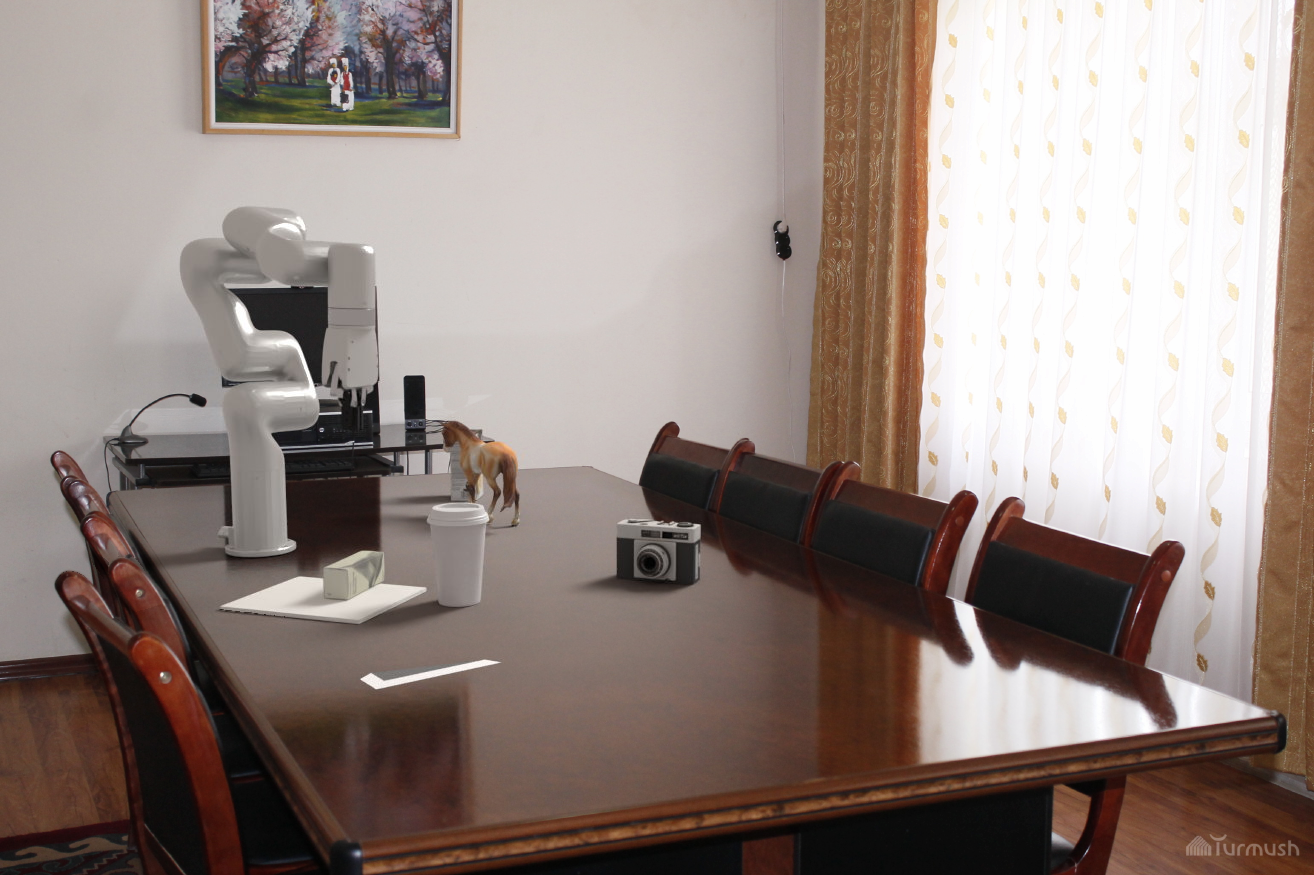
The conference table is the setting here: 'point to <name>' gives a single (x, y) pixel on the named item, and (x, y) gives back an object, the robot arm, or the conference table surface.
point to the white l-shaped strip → (419, 673)
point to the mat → (323, 601)
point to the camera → (658, 551)
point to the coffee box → (462, 475)
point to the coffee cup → (458, 551)
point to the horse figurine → (484, 465)
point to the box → (353, 575)
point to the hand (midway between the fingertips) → (352, 429)
